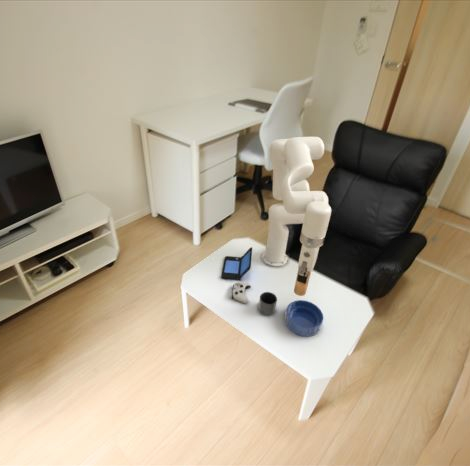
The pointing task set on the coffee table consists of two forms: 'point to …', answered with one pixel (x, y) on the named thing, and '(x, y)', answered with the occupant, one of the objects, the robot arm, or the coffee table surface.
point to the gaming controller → (240, 292)
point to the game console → (236, 266)
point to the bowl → (303, 318)
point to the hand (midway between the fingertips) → (303, 276)
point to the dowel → (301, 285)
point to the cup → (267, 303)
